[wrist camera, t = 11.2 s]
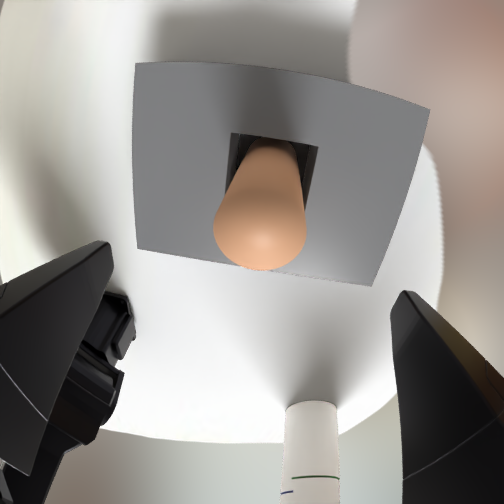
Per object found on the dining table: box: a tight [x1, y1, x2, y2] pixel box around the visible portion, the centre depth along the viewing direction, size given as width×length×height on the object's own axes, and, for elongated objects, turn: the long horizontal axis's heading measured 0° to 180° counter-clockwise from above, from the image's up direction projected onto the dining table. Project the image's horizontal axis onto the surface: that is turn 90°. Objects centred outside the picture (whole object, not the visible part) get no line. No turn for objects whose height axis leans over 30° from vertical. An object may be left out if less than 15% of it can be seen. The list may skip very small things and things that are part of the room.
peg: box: [213, 137, 307, 270], centre depth 15 cm, size 3×3×10 cm
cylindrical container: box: [280, 400, 340, 504], centre depth 26 cm, size 7×7×25 cm
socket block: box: [132, 62, 430, 286], centre depth 18 cm, size 16×12×4 cm
